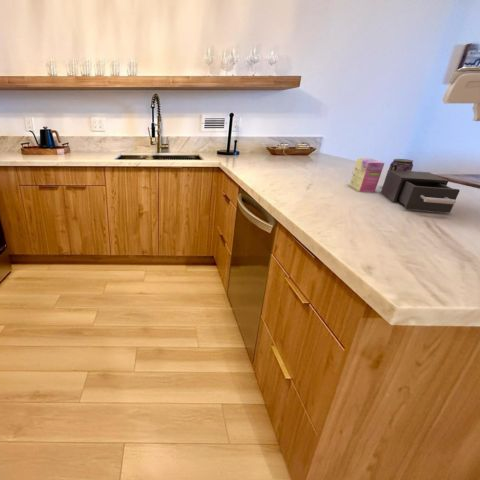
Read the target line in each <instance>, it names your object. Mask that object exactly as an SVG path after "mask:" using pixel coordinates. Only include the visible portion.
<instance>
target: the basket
mask: <svg viewBox="0 0 480 480" xmlns="http://www.w3.org/2000/svg"><path fill="white" fill-rule="evenodd" d="M460 191H461V190H460V189H458V188H452V187H450V186H448V185H447V186H446V185H444V184H442V183H439V182H424V181H409V180H404V181H403V184H402V187H401V190H400V192H399V195H398V198H397V200H399V201H400V202H401V203H400V204H403V205H404V209H405V210H413V211H414V210H415V211H425V212H435V213H448V214H450V213H451V211H452V209H453V207H454V205H455V204H456V202H457V198H458V196H459V193H460Z"/></svg>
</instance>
